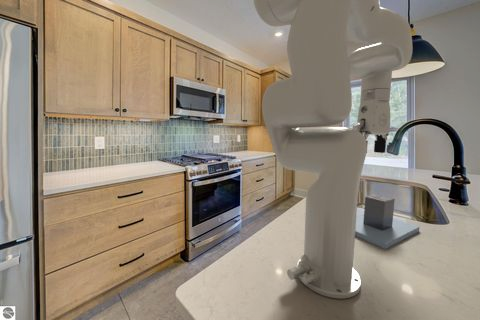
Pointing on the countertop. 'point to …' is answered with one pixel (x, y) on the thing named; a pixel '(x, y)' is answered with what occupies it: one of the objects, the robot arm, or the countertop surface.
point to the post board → (384, 232)
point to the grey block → (378, 211)
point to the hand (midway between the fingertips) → (370, 153)
